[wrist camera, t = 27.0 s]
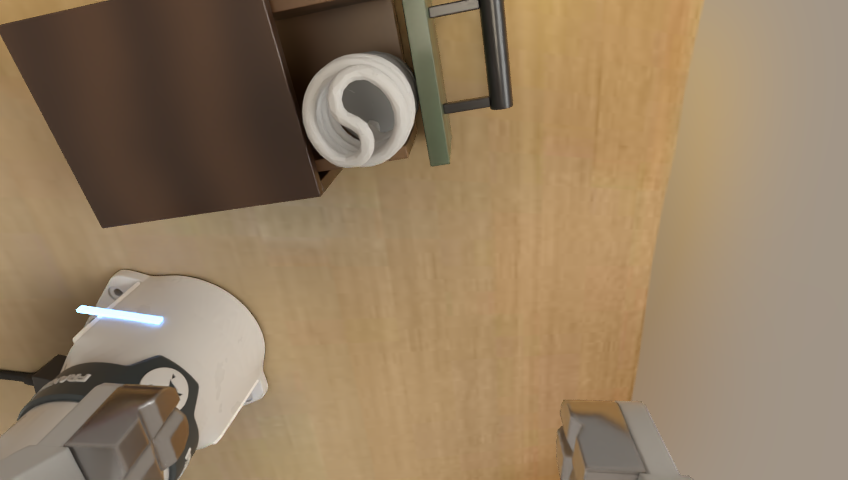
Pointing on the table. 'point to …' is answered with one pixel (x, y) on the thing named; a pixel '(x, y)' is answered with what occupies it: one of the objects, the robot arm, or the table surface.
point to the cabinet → (169, 106)
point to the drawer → (378, 31)
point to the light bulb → (360, 108)
